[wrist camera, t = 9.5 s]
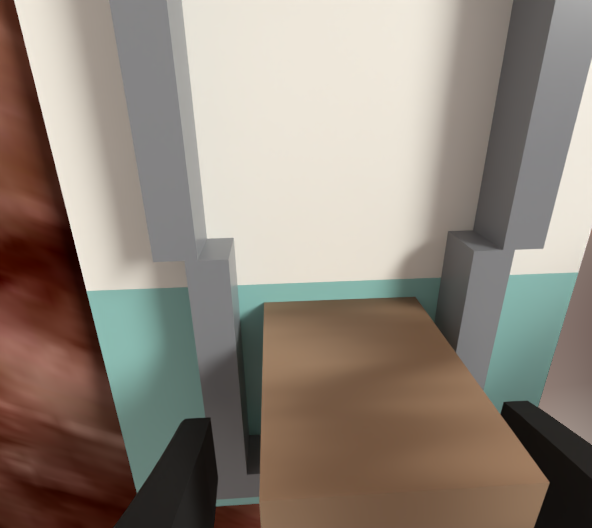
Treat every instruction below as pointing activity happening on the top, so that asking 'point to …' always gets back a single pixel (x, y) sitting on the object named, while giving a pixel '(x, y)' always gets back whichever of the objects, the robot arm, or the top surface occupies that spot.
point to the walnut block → (382, 425)
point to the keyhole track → (312, 186)
